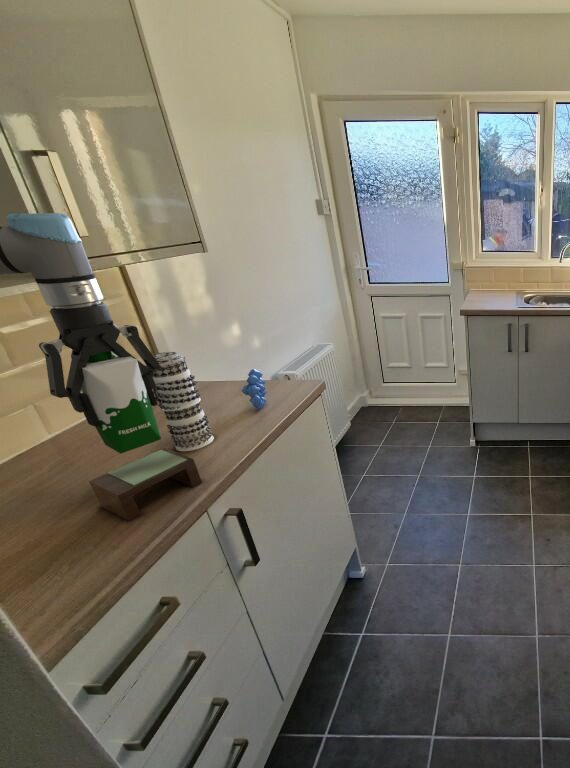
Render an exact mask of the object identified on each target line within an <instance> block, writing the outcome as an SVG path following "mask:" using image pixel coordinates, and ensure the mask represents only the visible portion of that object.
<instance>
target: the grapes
mask: <svg viewBox="0 0 570 768" xmlns="http://www.w3.org/2000/svg"><path fill="white" fill-rule="evenodd" d="M247 376H248V377H247V379H246V383H247V384H245V385H244V386H243V387H242V389H241V392H242V393H243V394H244V395H245V396H249V397H250V399H249V402H250V403H251V404H252V406H253V407H254V408H255V409H256V410H262V409H263V407H264V406H265V404H266V403H267V402H268V401H267V400H268V399H266V398H265V396H266V394H267V393H268V390H266V386H264V385H265V384H266V381H265V380H264V379H263V378H262V377H263V373H262V372H261V371H260V370H257V369H255V368H252V369H250V371H249V372H248V373H247Z"/></svg>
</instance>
